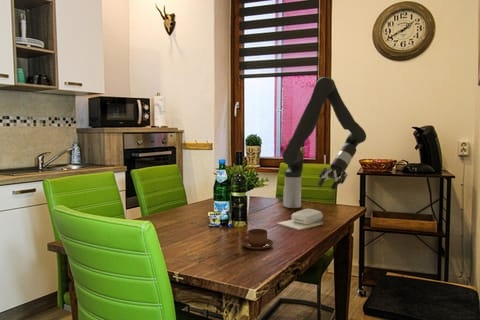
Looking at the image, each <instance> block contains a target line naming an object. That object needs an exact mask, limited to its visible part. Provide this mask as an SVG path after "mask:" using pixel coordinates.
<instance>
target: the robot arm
mask: <svg viewBox="0 0 480 320" xmlns="http://www.w3.org/2000/svg"><path fill="white" fill-rule="evenodd" d="M326 100H327V101H328V102H329V103H330V105H331V107H332V109H333V113H334V115H335V117H336V119H337V120H338V123H339V124H340V126H341V127H342V128H343V129H344V130H345V131H349V134H348V135H347V137H346V138H345V141H344V143H343V144H344V145H342V148H341V149H340V151H339V152H338V153H337V155H336V156H335V158H334V159H333V160H332V162H331V164H330V167H329V168H328V169H327V167H325V168H323V169H322V171H321V172H320V174H319V175H318V177H319V181H318V183H317V185H318V186H319V188H321V187H322V186H323V185H324V183H325V181H328V180H329V179H331V180H332V179H333V180H334V182H333V183H332V185H331V186H330V189H331V190H333V191H335V190H336V189H337V187H338V186H339V185H342V184H344V182H345V181H346V179H347V177H348V173H347V172H346V170H347V168H348V167H349V165H350V163H351V161H352V160H353V158H354V156H355V154H356V152H357V146H358V145H360V144H362V143H364V142H365V141H366V139H367V134H366V131H365V130H364V129H363V127H362V126H361V125H360V124H359V123H358V122H356V120H355V119H354V117H353V115H352V113H351V112H350V110H349V109H348V107H347V106H346V104H345V103H344V100H343V99H342V97H341V95H340V93H339V90H338V88H337V85H336V82H335V81H334V80H333V78H331V77H328V76H323V77H320V78H318V80H317V81H316V82H315V85H314V88H313V91H312V94H311V96H310V98H309V100H308V103H307V105H306V107H305V109H304V110H303V112H302V114H301V116H300V119H299V121H298V123H297V125H296V127H295V129H294V132H293V134H292V136H291V139H290V140H289V142H288V144H287V145H286V147H285V149H284V150H283V153H282V162H283V163H284V164H286V165H287V168H286V169H285V171H284V189H283V191H282V198H283V199H282V206H283V207H285V208H289V209H299V208H301V206H302V199H301V198H302V173H303V168H304V154H303V151H302V147H303V145H304V143H305V142H306V141H307V139H309V137H311V135H312V133H313V132H314V130H315V129H316V127H317V124H318V122H319V119H320V116H321V112H322V107H323V105H324V103H325V101H326Z"/></svg>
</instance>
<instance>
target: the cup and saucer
mask: <svg viewBox="0 0 480 320" xmlns="http://www.w3.org/2000/svg"><path fill="white" fill-rule="evenodd" d="M245 236H247V238H245ZM244 238H245V239H244ZM241 240H242V241H241V244H242V245H243V246H244V247H245V248H248V249H251V250H267V249H270V248H271V247H272V246H273V245H274V241H273V240H272V239H269V238H268V231H267V230H266V229H264V228H263V229H262V228H251V229H249V230H248V231H247V233H244V234H242V236H241ZM248 244H250V245H251V246H247V245H248ZM266 244H268V245H269V246H265V245H266ZM263 246H265V247H263Z"/></svg>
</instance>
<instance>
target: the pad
mask: <svg viewBox="0 0 480 320" xmlns="http://www.w3.org/2000/svg"><path fill="white" fill-rule="evenodd" d="M276 224H277V225H279V226H284V227H287V228H291V229H294V230H297V231H300V230H304V229H310V228H314V227H318V226H323V224H324V222H323V221H320V220H318V221H316V222H313V223H310V224H301V223H297V222H295V221H293V220H292V219H288V220H285V221H284V220H283V221H280V222H276Z"/></svg>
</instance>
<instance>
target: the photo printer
mask: <svg viewBox="0 0 480 320" xmlns="http://www.w3.org/2000/svg"><path fill="white" fill-rule="evenodd" d="M323 216H324V214H323V212H321V211H320V210H316V209H312V208H304V209H301V210H297V211H296V212H293V213H292V214H291V218H290V220H293V221H295V222H297V223H301V224H310V223H313V222H316V221H320V220H322V219H323Z"/></svg>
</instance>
